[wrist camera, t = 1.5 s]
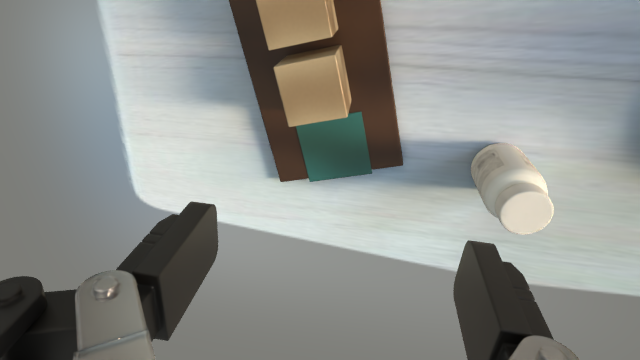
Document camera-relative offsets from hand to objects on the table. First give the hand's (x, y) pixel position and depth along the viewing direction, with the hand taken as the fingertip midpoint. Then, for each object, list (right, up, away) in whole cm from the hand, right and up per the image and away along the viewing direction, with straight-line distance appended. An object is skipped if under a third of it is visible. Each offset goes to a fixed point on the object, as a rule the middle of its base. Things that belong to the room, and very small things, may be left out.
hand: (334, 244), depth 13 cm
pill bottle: (+15, +3, +21) cm, 26 cm away
